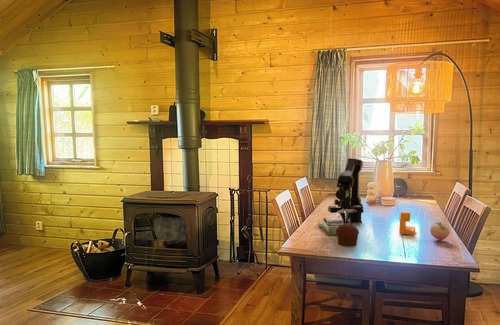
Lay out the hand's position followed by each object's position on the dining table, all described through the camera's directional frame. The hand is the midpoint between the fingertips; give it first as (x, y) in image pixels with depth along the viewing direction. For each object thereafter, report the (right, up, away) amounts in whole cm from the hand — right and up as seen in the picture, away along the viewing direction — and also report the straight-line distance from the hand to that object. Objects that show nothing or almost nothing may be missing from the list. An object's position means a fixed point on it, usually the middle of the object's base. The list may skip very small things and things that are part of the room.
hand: (345, 223), depth 213 cm
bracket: (+34, -5, -3) cm, 35 cm away
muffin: (-5, -7, -22) cm, 24 cm away
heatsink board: (-3, -4, +5) cm, 7 cm away
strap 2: (-3, 0, +9) cm, 9 cm away
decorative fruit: (+44, -6, -18) cm, 48 cm away
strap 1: (-4, -1, 0) cm, 4 cm away
